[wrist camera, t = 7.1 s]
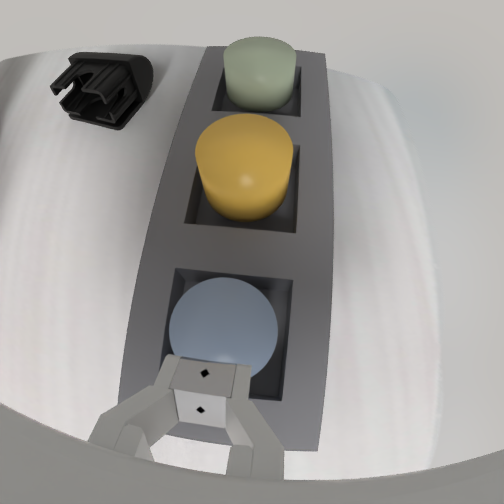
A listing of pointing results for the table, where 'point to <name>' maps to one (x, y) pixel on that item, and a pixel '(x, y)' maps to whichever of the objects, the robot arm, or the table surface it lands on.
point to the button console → (246, 256)
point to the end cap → (104, 87)
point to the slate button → (224, 324)
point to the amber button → (244, 166)
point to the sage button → (259, 73)
